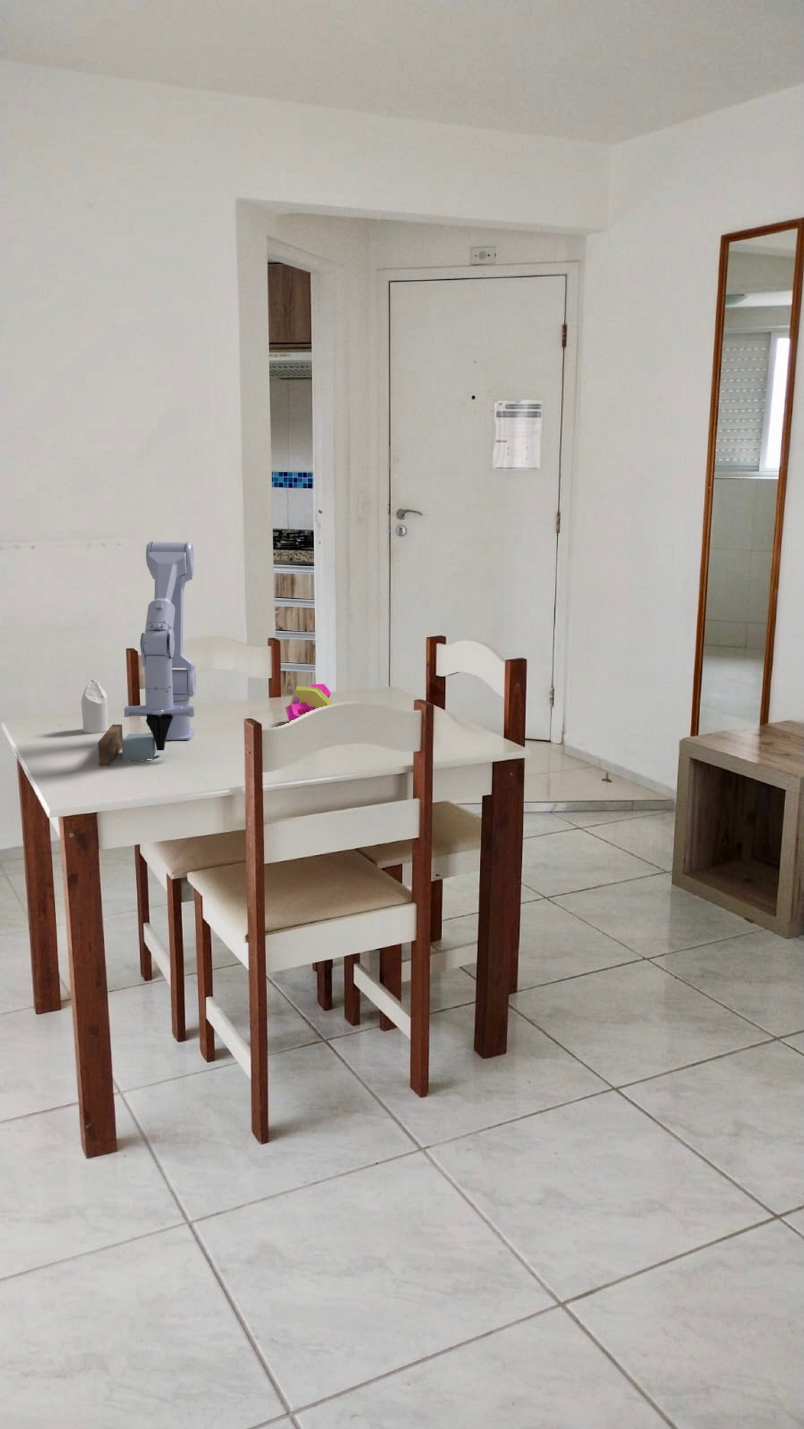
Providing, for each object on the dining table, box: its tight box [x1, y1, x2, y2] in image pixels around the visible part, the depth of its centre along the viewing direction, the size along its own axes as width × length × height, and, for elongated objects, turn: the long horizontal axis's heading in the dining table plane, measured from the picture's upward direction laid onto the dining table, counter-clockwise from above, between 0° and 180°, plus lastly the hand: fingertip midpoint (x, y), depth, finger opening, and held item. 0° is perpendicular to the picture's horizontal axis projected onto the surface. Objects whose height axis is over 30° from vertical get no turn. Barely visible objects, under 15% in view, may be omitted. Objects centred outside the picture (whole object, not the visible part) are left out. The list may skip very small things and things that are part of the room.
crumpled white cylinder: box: [80, 679, 109, 734], centre depth 261 cm, size 6×12×6 cm
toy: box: [285, 683, 335, 722], centre depth 272 cm, size 10×18×10 cm, turn 163°
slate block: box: [121, 733, 158, 762], centre depth 240 cm, size 8×6×4 cm
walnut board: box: [97, 723, 124, 767], centre depth 239 cm, size 16×2×5 cm, turn 4°
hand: (160, 749), depth 240 cm, fingers closed
